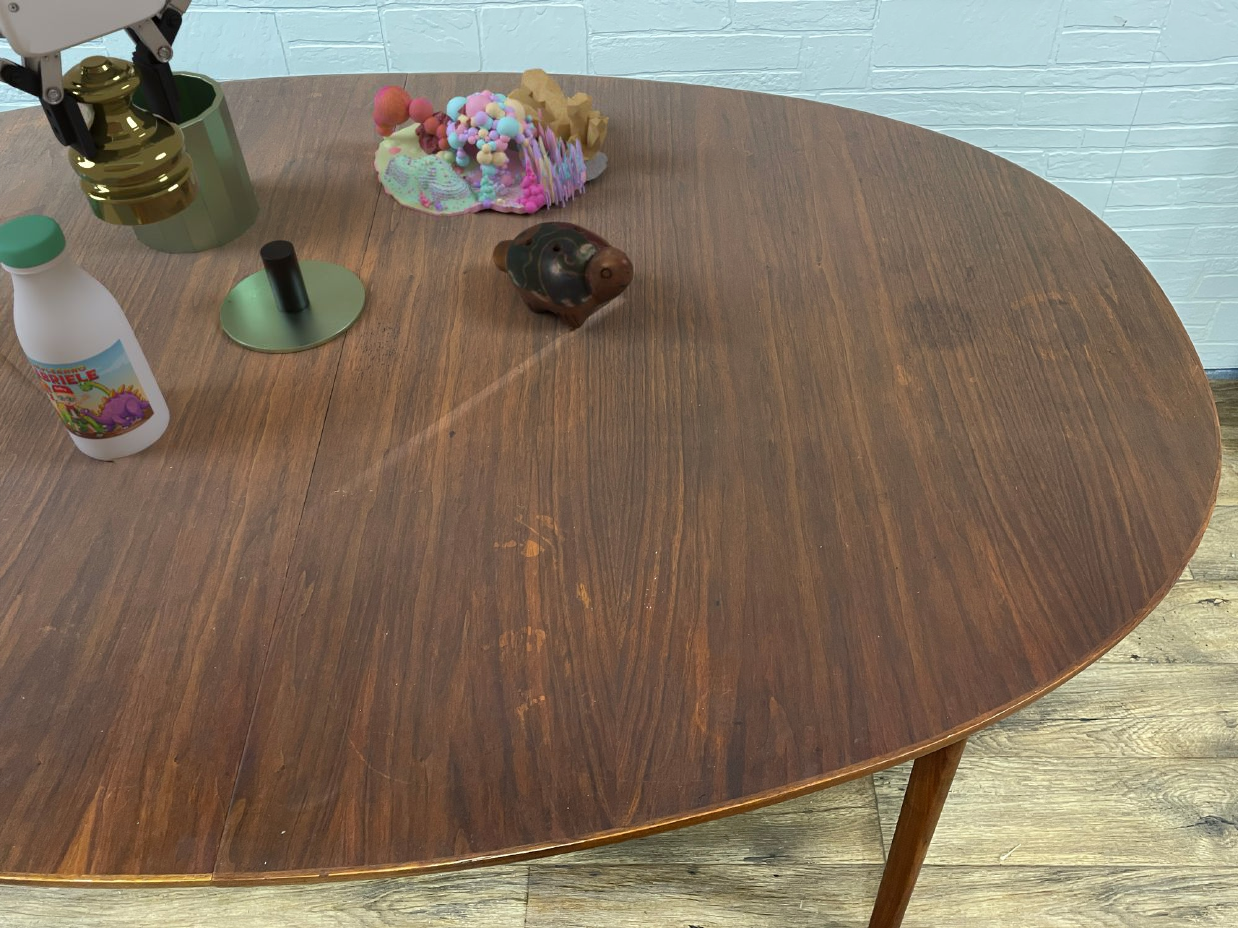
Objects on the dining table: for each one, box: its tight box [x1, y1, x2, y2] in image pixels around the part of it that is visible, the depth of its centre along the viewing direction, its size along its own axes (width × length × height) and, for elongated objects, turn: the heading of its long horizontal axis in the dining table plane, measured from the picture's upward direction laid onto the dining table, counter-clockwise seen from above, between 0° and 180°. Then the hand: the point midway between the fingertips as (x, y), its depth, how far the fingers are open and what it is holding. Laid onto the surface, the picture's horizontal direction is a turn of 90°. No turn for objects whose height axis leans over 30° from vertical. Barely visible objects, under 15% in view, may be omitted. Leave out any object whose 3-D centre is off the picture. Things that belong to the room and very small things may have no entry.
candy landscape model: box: [372, 68, 609, 218], centre depth 112 cm, size 25×24×9 cm
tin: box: [86, 70, 260, 254], centre depth 104 cm, size 12×12×14 cm
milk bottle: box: [0, 214, 171, 462], centre depth 81 cm, size 8×8×20 cm
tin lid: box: [219, 239, 367, 354], centre depth 96 cm, size 13×13×7 cm
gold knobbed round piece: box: [62, 54, 200, 227], centre depth 69 cm, size 7×7×10 cm
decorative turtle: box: [492, 221, 634, 330], centre depth 96 cm, size 10×15×8 cm, turn 63°
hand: (124, 130), depth 69 cm, fingers closed on gold knobbed round piece, 5 cm apart
